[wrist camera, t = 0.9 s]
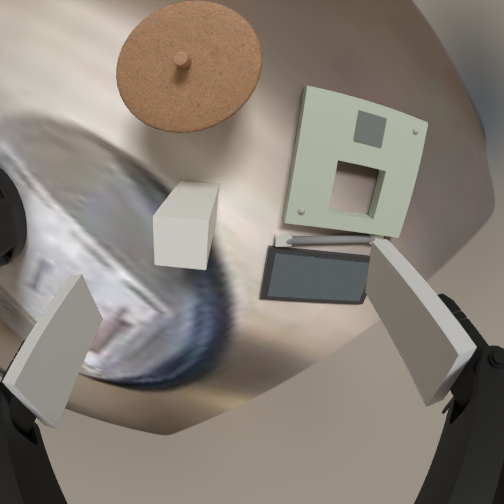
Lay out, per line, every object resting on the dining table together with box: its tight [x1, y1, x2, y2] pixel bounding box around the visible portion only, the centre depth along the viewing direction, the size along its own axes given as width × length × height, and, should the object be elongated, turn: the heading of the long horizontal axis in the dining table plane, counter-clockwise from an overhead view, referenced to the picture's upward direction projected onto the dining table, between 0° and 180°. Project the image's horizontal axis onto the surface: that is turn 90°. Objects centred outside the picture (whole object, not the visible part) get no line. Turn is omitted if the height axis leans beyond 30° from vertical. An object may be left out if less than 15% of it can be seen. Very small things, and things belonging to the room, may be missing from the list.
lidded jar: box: [116, 1, 262, 133], centre depth 18 cm, size 11×11×9 cm
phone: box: [260, 246, 370, 304], centre depth 34 cm, size 14×7×1 cm, turn 83°
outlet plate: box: [283, 86, 428, 238], centre depth 27 cm, size 14×14×2 cm
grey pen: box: [275, 234, 384, 247], centre depth 31 cm, size 13×1×1 cm, turn 91°
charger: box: [153, 181, 219, 270], centre depth 24 cm, size 4×4×10 cm
